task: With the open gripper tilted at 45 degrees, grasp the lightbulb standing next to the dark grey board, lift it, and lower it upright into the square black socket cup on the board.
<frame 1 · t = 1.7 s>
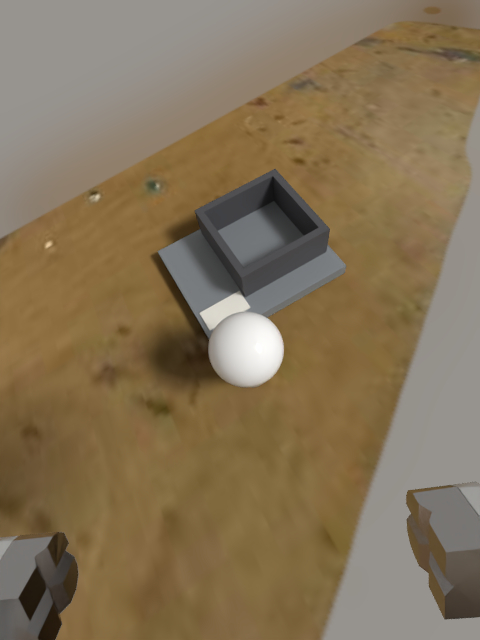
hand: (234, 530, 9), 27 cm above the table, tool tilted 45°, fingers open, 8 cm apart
lightbulb: (253, 377, 39), on the table
socket board: (248, 265, 45), on the table
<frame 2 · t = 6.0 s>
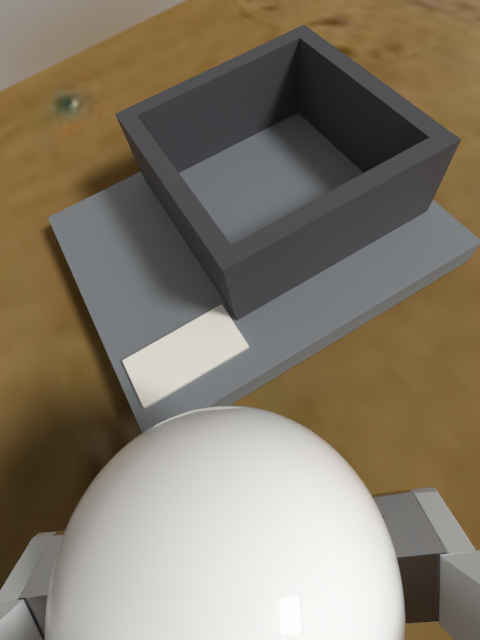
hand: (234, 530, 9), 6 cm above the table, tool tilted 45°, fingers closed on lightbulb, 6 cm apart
lightbulb: (258, 538, 15), on the table, touching gripper
socket board: (245, 246, 20), on the table
when the fingers open (9 cm above the table, at t = 12.5 s): lightbulb drops 1 cm, resting on socket board.
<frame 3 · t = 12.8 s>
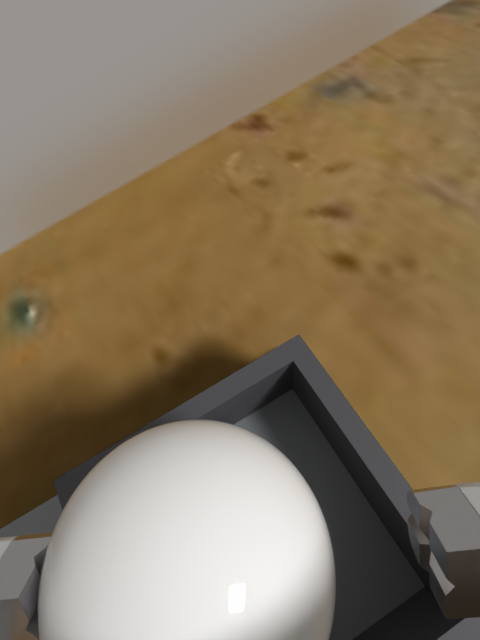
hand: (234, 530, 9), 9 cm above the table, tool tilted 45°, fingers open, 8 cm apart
lightbulb: (226, 539, 16), point 1 cm above the table, touching gripper, socket board
socket board: (226, 588, 16), on the table
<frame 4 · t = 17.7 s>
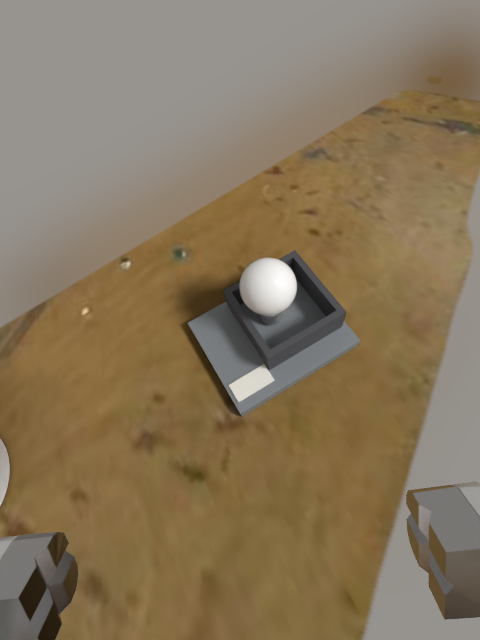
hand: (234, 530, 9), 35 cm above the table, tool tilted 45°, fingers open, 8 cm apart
lightbulb: (271, 318, 49), point 1 cm above the table, touching socket board
socket board: (271, 336, 49), on the table
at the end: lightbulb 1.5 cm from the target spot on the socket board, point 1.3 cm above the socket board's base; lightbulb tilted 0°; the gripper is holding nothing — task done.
